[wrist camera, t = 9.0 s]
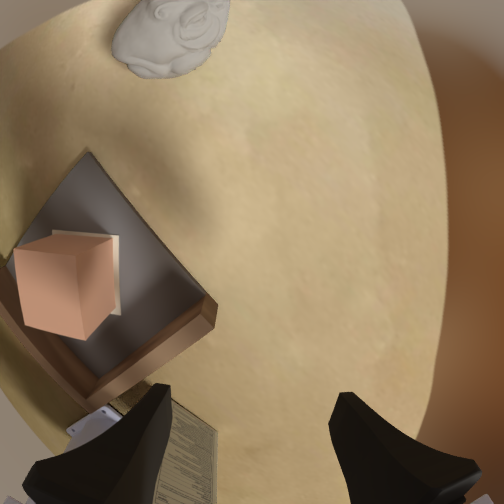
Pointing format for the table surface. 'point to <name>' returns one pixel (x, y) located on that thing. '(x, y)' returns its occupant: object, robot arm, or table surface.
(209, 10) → the frog figurine
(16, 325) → the tray
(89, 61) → the table surface
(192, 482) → the skincare box
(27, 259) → the cube
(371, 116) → the table surface
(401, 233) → the table surface
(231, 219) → the table surface
